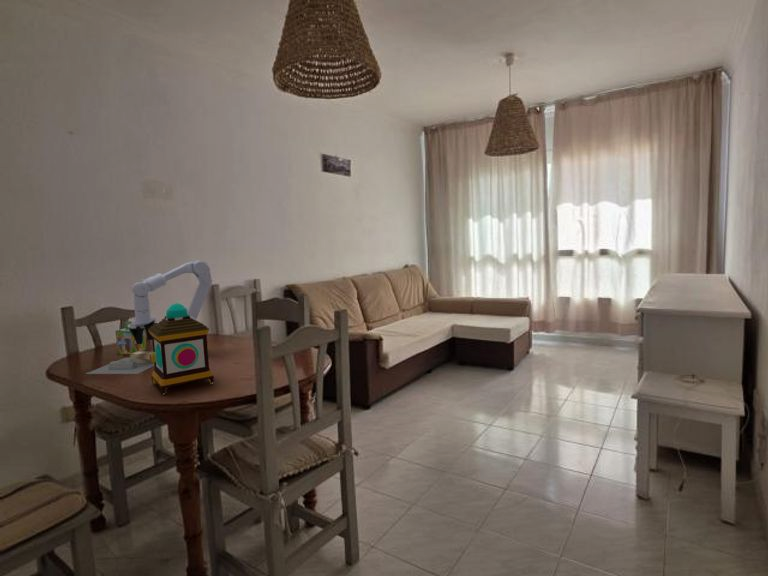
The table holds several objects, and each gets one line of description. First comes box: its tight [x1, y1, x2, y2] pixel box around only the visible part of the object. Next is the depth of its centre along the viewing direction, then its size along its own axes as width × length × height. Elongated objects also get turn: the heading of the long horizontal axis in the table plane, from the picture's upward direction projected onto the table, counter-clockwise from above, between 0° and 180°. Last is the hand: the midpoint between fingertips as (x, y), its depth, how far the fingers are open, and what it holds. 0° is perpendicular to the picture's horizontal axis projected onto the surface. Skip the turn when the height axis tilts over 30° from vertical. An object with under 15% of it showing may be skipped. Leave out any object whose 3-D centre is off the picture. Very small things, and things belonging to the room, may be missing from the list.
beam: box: [129, 351, 154, 363], centre depth 194 cm, size 12×4×4 cm, turn 85°
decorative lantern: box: [148, 302, 215, 395], centre depth 162 cm, size 20×20×30 cm
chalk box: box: [115, 320, 148, 356], centre depth 213 cm, size 9×9×15 cm
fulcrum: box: [109, 360, 138, 370], centre depth 185 cm, size 10×4×3 cm, turn 85°
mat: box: [85, 357, 155, 375], centre depth 190 cm, size 22×24×1 cm
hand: (145, 341), depth 193 cm, fingers open, 7 cm apart
